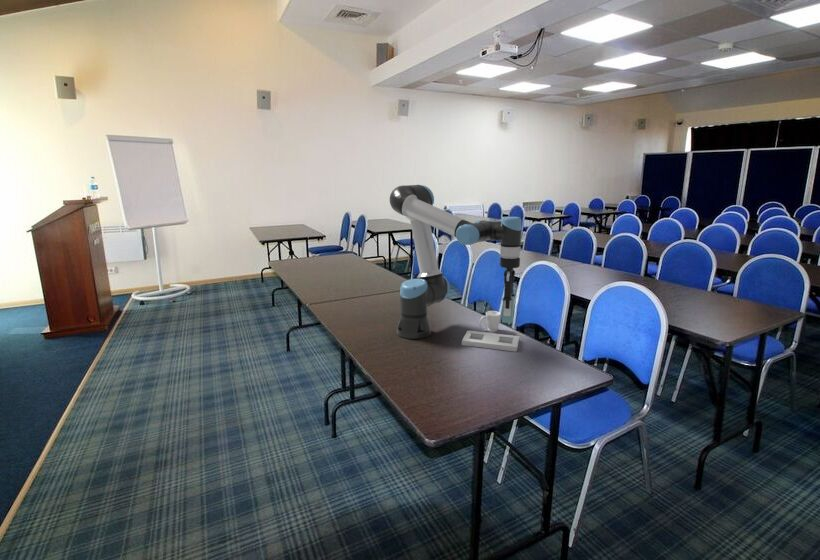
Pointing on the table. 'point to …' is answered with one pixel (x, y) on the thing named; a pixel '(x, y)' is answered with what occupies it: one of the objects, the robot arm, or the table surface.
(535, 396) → the table surface
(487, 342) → the panel
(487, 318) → the cup
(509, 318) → the plug
